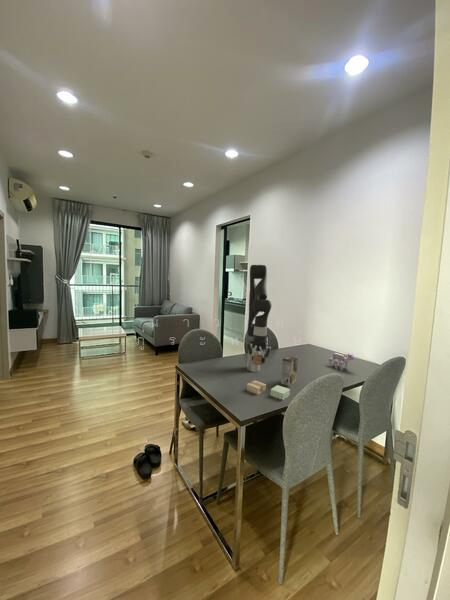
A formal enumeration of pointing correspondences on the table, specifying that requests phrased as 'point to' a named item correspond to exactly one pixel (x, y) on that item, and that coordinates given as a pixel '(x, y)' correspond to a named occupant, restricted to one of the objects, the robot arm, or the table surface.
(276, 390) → the sage base block
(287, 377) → the coffee box
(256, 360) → the walnut cube
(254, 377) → the table surface
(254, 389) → the oak base block
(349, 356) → the toy sheep
